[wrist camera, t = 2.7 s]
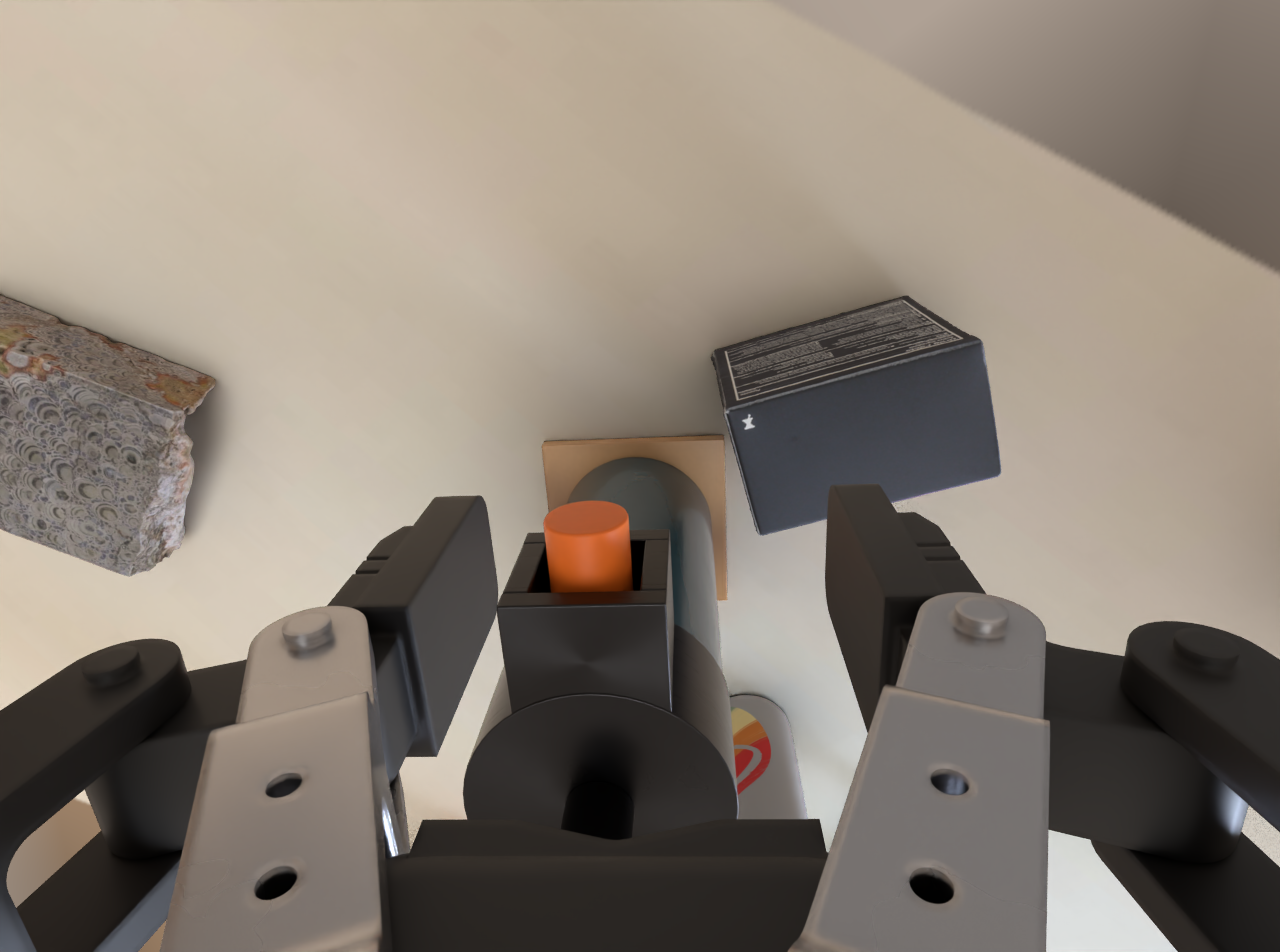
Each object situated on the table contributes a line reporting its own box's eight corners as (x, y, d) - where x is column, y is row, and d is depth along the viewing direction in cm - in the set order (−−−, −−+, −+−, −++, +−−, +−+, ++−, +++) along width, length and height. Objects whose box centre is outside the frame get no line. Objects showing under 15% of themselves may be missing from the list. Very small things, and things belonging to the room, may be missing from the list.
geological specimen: (152, 588, 43) (-142, 491, 40) (210, 534, 48) (-46, 446, 46) (183, 418, 38) (-143, 299, 36) (242, 380, 44) (-37, 276, 42)
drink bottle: (547, 403, 42) (397, 662, 20) (712, 396, 41) (742, 657, 19) (567, 595, 46) (461, 981, 24) (716, 592, 46) (745, 985, 24)
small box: (739, 460, 43) (755, 546, 34) (708, 349, 41) (715, 406, 31) (932, 409, 42) (1007, 484, 32) (911, 290, 40) (984, 331, 30)
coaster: (543, 441, 44) (541, 445, 43) (723, 434, 43) (724, 439, 42) (560, 597, 47) (558, 604, 46) (726, 593, 47) (727, 600, 46)
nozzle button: (550, 500, 25) (536, 536, 23) (630, 498, 25) (625, 533, 23) (559, 582, 26) (546, 624, 24) (636, 580, 26) (631, 623, 24)
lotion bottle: (687, 708, 50) (688, 1031, 31) (771, 680, 49) (823, 998, 30) (721, 774, 52) (741, 1116, 33) (803, 748, 50) (871, 1087, 32)
